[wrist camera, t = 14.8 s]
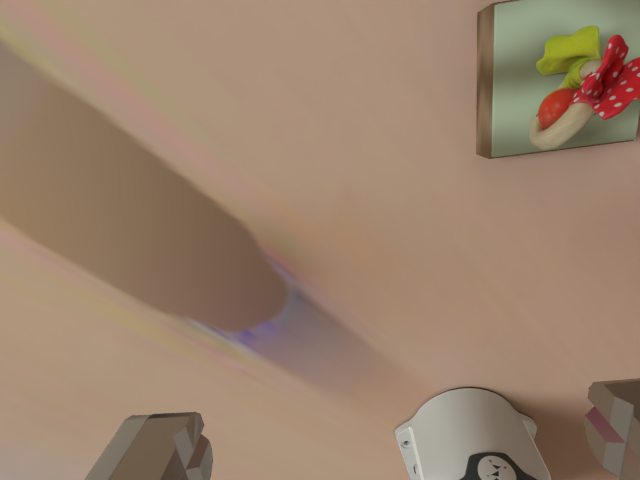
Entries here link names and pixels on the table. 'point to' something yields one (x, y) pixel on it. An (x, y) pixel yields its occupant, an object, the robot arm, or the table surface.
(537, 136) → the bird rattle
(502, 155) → the sage green square tile
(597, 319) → the table surface
